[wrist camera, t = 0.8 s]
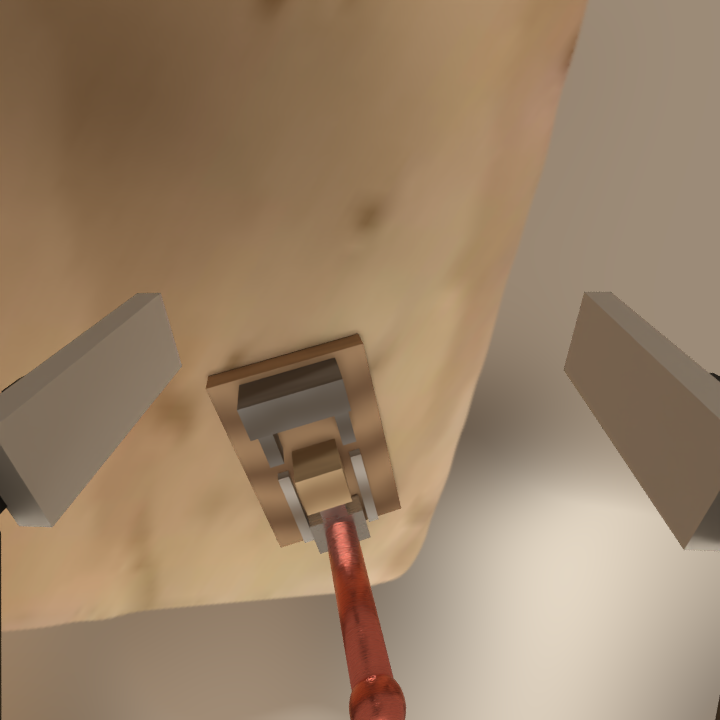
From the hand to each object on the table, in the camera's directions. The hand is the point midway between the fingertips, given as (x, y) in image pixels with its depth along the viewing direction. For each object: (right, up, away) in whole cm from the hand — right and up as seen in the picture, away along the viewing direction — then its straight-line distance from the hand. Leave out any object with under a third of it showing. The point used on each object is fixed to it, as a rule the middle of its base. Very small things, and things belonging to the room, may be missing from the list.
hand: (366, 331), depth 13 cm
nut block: (-4, -10, +25) cm, 28 cm away
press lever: (-3, -15, +28) cm, 32 cm away
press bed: (-5, -9, +27) cm, 29 cm away
